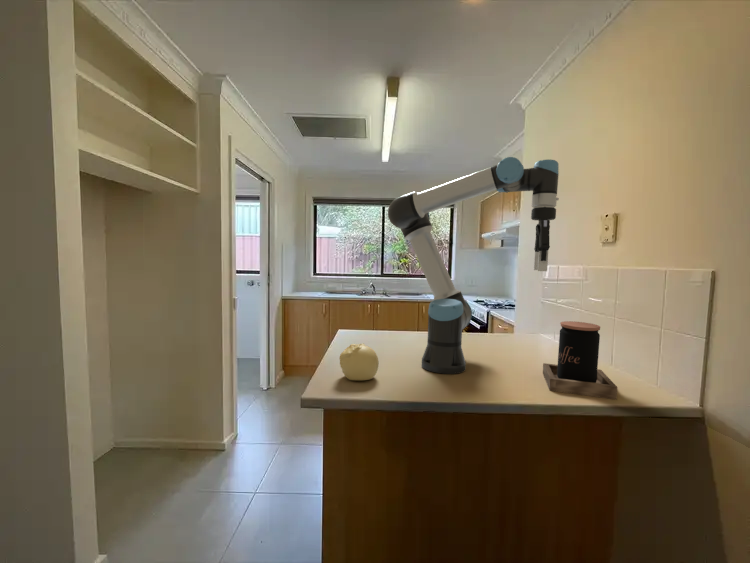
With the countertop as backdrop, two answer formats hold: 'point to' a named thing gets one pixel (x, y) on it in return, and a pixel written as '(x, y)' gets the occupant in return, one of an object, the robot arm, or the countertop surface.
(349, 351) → the sculpture
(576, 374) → the coffee jar
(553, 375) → the wooden tray
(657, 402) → the countertop surface
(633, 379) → the countertop surface
